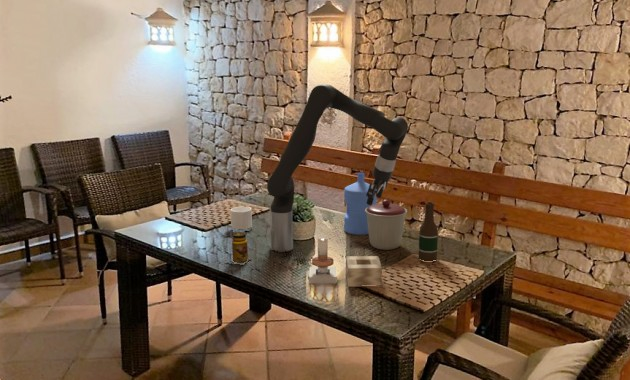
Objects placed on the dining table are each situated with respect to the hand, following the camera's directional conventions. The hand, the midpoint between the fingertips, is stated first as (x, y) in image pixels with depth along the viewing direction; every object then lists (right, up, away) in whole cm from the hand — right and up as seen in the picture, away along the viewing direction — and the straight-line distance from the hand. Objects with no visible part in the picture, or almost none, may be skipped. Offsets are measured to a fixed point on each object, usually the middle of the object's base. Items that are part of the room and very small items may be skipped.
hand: (373, 200), depth 216 cm
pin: (-21, -29, -17) cm, 39 cm away
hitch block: (-6, -29, -19) cm, 35 cm away
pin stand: (-21, -29, -17) cm, 39 cm away
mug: (-59, -15, +44) cm, 75 cm away
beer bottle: (+22, -24, +1) cm, 33 cm away
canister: (+7, -21, +18) cm, 28 cm away
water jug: (-2, -15, +40) cm, 43 cm away
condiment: (-55, -25, +1) cm, 60 cm away
